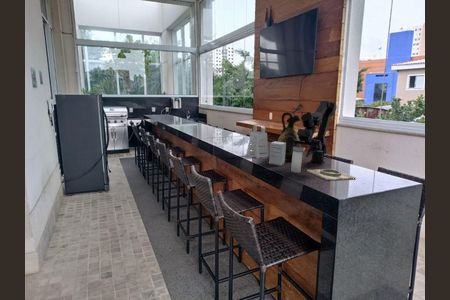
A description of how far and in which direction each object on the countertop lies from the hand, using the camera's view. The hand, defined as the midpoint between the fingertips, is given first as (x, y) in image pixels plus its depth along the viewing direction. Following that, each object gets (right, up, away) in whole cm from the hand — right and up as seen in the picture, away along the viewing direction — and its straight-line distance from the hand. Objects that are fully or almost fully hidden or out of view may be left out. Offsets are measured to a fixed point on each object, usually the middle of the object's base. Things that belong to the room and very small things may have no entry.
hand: (298, 155), depth 145 cm
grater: (-17, -1, +37) cm, 41 cm away
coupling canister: (-1, -9, +1) cm, 9 cm away
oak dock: (+16, -10, -3) cm, 19 cm away
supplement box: (-8, -5, +17) cm, 20 cm away
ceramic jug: (+1, -3, +32) cm, 32 cm away
